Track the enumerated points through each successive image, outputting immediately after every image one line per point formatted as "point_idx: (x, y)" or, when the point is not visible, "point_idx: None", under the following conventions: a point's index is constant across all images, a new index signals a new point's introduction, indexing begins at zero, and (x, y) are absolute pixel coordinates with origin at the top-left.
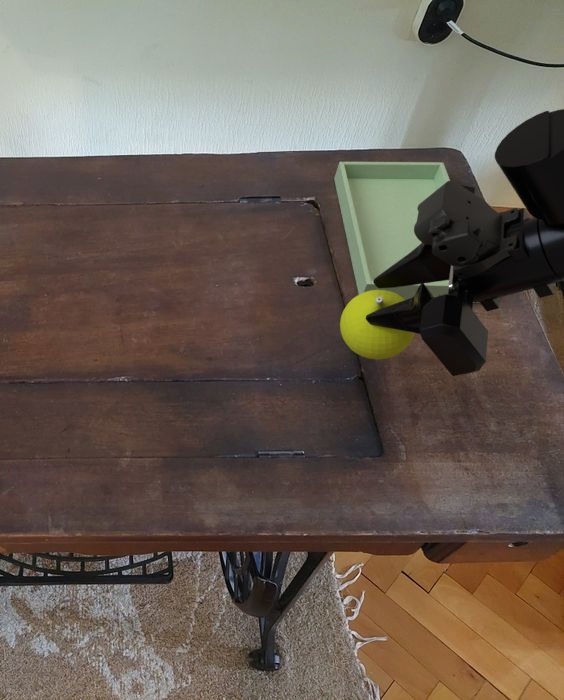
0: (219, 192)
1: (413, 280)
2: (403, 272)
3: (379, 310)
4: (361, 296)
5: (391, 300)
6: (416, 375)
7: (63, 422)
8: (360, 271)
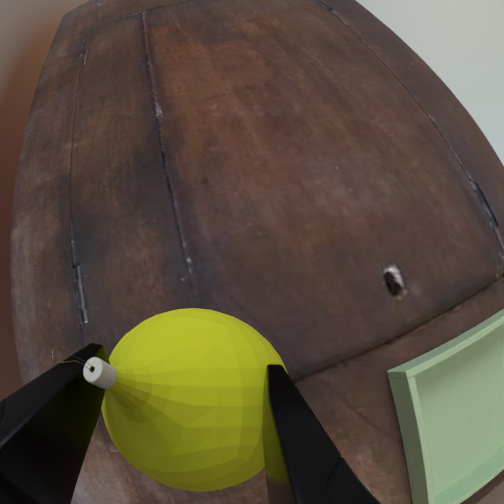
0: (469, 159)
1: (272, 497)
2: (275, 467)
3: (69, 373)
4: (218, 337)
5: (184, 428)
6: (259, 472)
7: (107, 93)
8: (431, 355)
